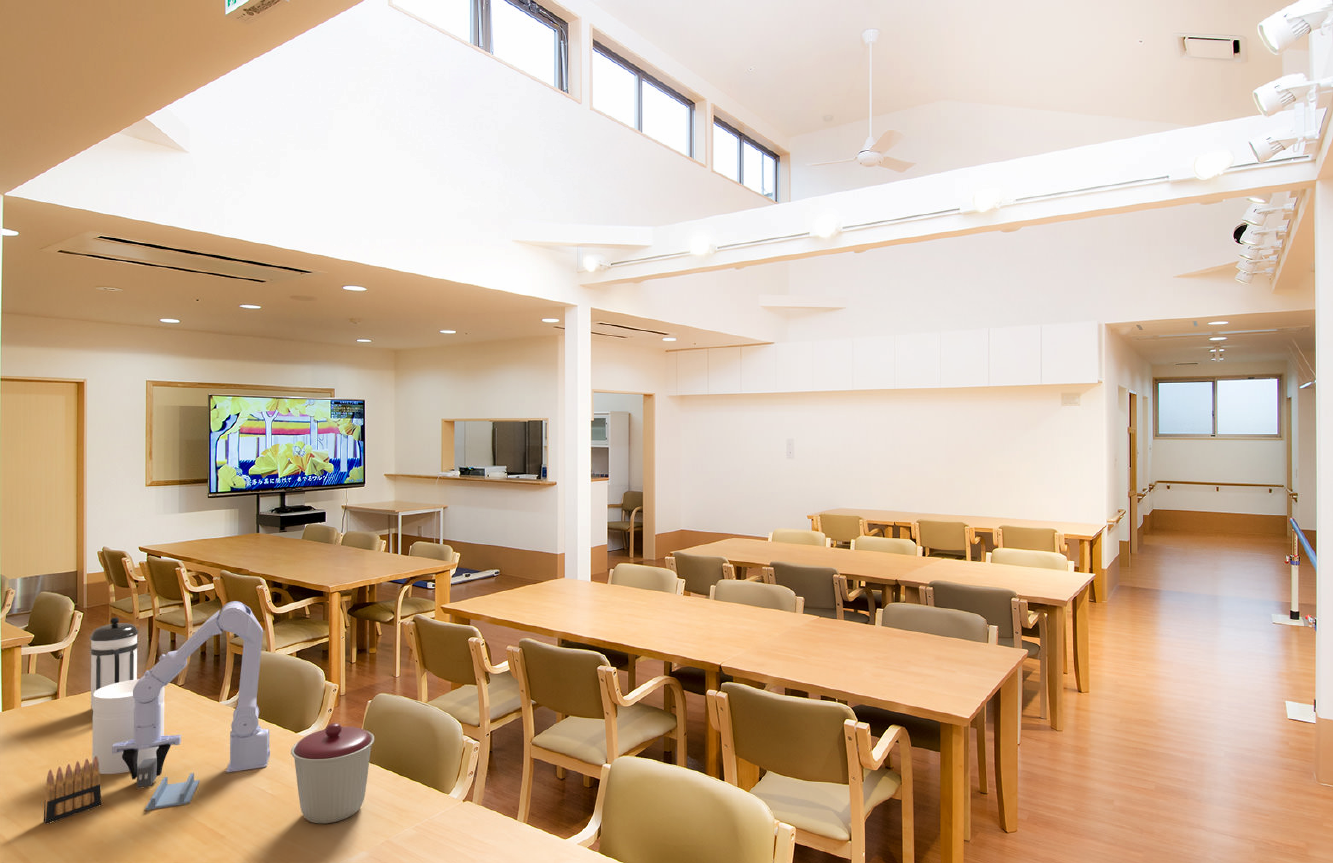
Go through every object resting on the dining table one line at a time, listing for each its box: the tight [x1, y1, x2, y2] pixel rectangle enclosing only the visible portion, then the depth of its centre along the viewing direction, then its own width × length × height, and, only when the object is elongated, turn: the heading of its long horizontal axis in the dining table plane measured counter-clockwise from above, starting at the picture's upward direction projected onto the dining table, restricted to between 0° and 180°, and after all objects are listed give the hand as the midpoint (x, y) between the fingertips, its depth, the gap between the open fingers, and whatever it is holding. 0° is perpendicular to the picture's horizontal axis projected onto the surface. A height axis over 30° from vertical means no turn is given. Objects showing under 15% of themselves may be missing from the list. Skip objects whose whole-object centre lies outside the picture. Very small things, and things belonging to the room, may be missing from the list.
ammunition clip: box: [43, 756, 102, 825], centre depth 175 cm, size 11×2×12 cm, turn 146°
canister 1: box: [91, 678, 165, 775], centre depth 203 cm, size 16×16×20 cm
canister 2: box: [290, 722, 375, 824], centre depth 175 cm, size 18×18×21 cm
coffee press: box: [89, 617, 140, 710], centre depth 241 cm, size 17×16×30 cm
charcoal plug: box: [136, 758, 158, 789], centre depth 190 cm, size 3×7×5 cm, turn 23°
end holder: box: [144, 772, 200, 811], centre depth 183 cm, size 9×12×3 cm
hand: (147, 776), depth 190 cm, fingers open, 5 cm apart
